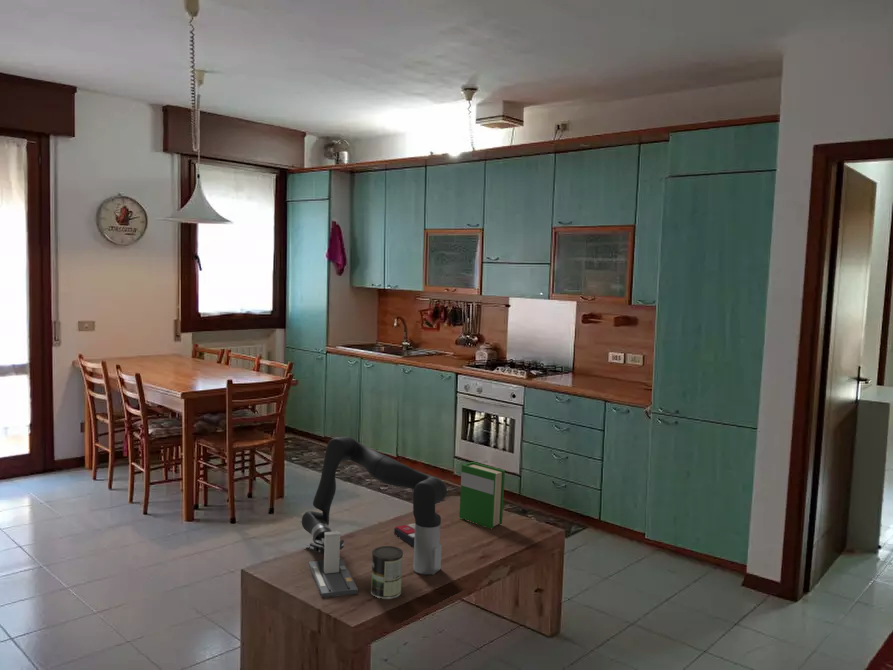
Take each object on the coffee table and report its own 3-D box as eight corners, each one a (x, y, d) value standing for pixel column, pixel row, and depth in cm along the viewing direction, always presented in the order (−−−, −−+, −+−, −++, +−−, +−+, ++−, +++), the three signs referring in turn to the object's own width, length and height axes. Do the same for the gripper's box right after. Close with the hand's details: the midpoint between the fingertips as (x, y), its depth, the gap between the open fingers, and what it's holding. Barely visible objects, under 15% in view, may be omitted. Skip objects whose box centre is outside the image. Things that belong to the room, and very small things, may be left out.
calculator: (417, 521, 302) (436, 531, 289) (417, 532, 302) (436, 542, 290) (393, 525, 296) (412, 536, 284) (393, 536, 296) (412, 547, 284)
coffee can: (367, 597, 239) (369, 556, 238) (374, 584, 249) (375, 544, 248) (398, 600, 238) (400, 559, 237) (403, 587, 248) (405, 547, 247)
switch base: (309, 565, 262) (309, 560, 262) (342, 562, 266) (342, 557, 266) (321, 597, 238) (321, 591, 238) (357, 593, 242) (358, 587, 242)
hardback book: (502, 525, 312) (504, 470, 309) (491, 529, 306) (494, 473, 304) (469, 514, 323) (472, 461, 321) (459, 518, 318) (461, 464, 315)
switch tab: (323, 571, 254) (324, 532, 253) (338, 569, 256) (339, 531, 255) (324, 573, 252) (325, 534, 251) (339, 572, 254) (340, 533, 252)
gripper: (305, 528, 268) (312, 546, 252) (340, 525, 272) (350, 542, 256) (304, 547, 269) (312, 566, 252) (340, 544, 273) (349, 563, 257)
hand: (331, 554), depth 254 cm, fingers closed
